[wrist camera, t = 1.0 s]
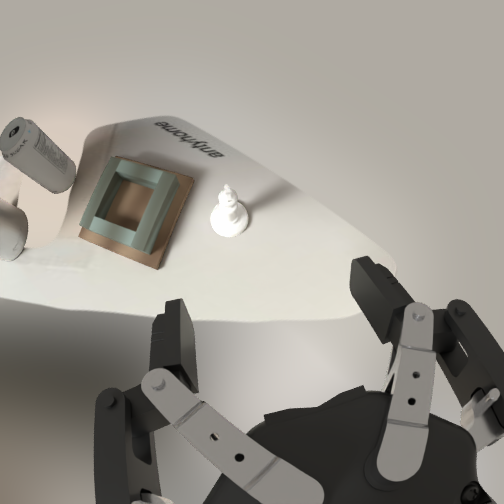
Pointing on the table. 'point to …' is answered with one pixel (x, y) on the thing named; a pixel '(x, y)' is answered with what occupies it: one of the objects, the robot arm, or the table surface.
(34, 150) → the energy drink can
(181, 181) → the socket board
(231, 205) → the chess piece
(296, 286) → the table surface
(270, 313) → the table surface
